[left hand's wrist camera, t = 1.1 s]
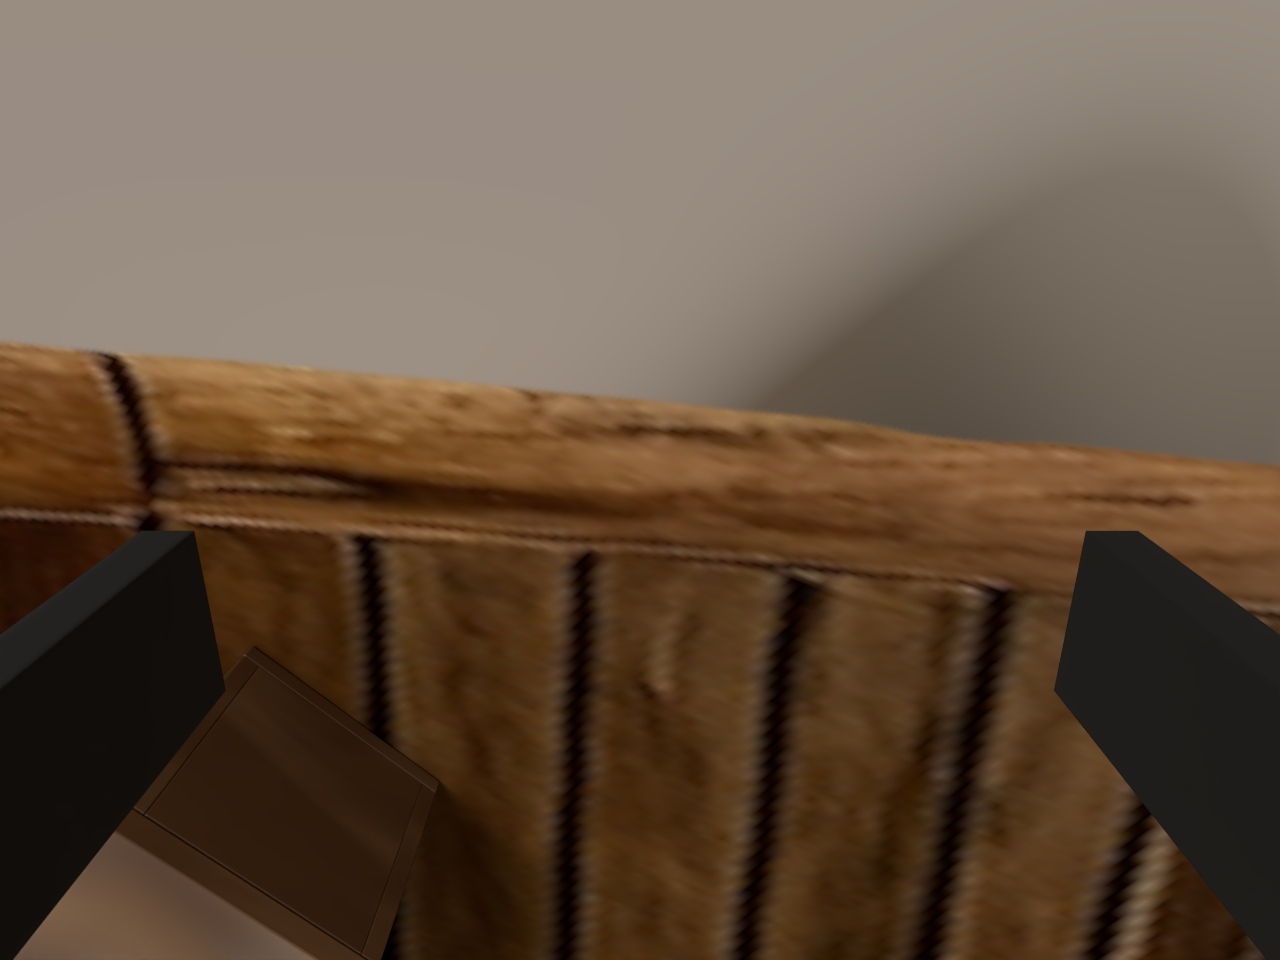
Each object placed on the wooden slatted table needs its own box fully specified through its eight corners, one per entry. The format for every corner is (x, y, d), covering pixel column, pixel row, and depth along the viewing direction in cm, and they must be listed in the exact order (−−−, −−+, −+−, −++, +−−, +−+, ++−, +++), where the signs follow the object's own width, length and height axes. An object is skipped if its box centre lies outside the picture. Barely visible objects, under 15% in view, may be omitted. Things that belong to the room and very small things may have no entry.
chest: (246, 961, 42) (141, 1173, 33) (64, 849, 39) (-102, 1045, 30) (440, 781, 38) (379, 965, 29) (251, 644, 35) (124, 800, 27)
